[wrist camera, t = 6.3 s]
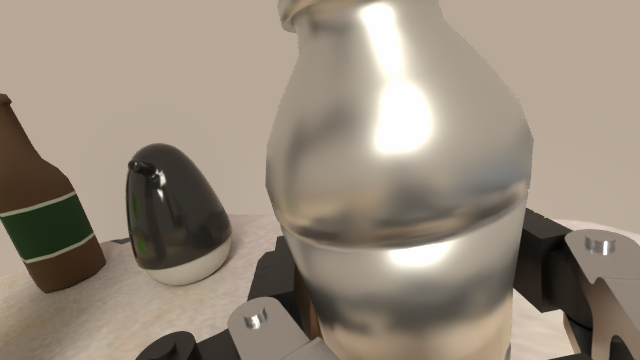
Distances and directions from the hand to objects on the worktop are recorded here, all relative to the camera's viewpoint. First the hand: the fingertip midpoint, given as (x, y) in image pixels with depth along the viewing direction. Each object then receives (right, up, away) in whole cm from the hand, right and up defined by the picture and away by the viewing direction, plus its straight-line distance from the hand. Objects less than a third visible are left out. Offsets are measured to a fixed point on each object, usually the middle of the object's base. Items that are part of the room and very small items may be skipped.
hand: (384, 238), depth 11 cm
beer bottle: (-36, -11, +30) cm, 48 cm away
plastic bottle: (+2, -11, +1) cm, 11 cm away
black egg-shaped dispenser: (-17, -9, +24) cm, 30 cm away
